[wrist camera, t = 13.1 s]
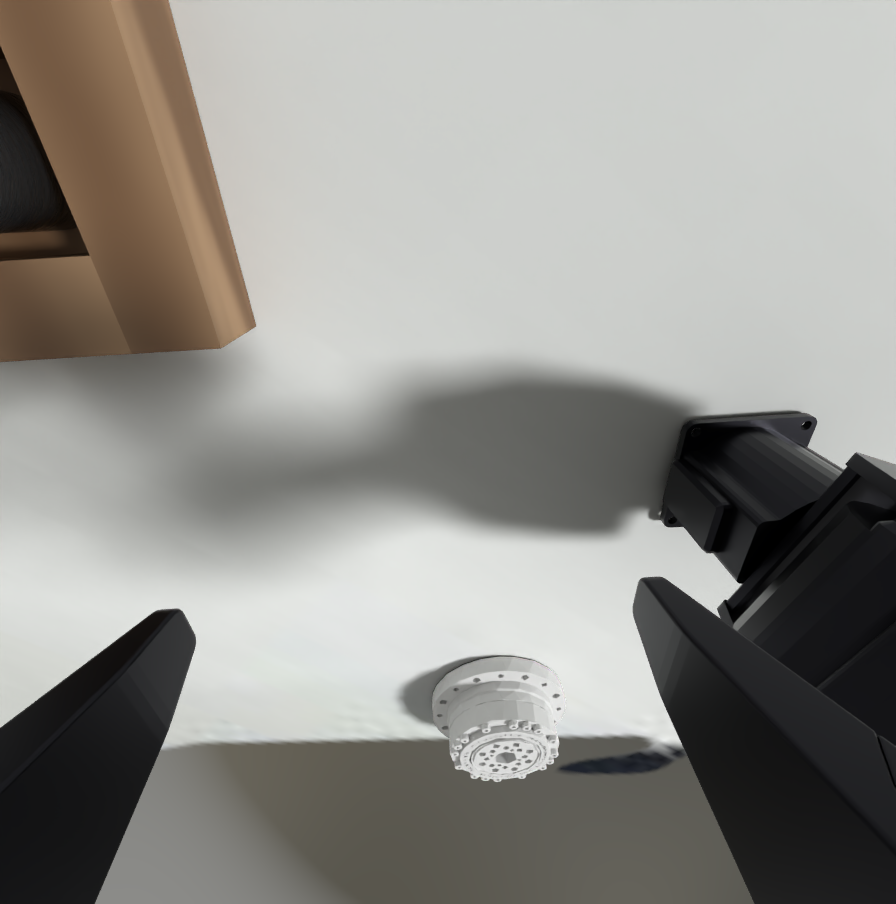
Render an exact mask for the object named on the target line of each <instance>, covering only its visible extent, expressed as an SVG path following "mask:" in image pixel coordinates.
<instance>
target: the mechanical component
mask: <svg viewBox="0 0 896 904" xmlns="http://www.w3.org/2000/svg"><path fill="white" fill-rule="evenodd" d="M565 710H566V698H565V694H564V691H563V687H562V684H561V682H560V680H559V678H558V676H557V675H556V674H555V673H554V672H553V671H552V670H550V669H549V668H548V667H546V666H544V665H542V664H540V663H538V662H536V661H533V660H528V659H522V658H517V657H493V658H485V659H480V660H477V661H474V662H470V663H467V664H464V665H462V666H460V667H458V668H456V669H455V670H453V671H451V672H449V673H448V674H446V676H445V677H444V678H443V679H442V680H441V681H440V682H439V683H438V684H437V685H436V688H435V690H434V692H433V697H432V714H433V722H434V723H435V725H436V727H437V728H438V730H439V731H440V732H441V733H443V734H444V735H445V736H446V737H448V738H449V742H450V754H451V757H452V760H453V761H454V763H455V769H458V770H460V769H463V770H465V771H468V772H470V774H471V778H474V779H476V778H478V777H481V780H483V781H487V780H489V779H494V781H495V782H498V781H501V779H509V778H515V777H519V779H523V778H525V777H526V774H529V773H532V772H534V771H536V770H538V769H540V770H545V769H546V764H553V762H554V759H553V758H556V757H557V756H558V751H557V750H558V745H559V740H558V735H557V731H556V727H555V726H556V725H557V724H558V723H559V722H560V720H561V719H562V717H563V715H564V714H565Z"/></svg>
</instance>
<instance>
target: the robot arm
mask: <svg viewBox="0 0 896 904" xmlns="http://www.w3.org/2000/svg"><path fill="white" fill-rule="evenodd" d="M804 422H805V423H804ZM803 423H804V424H803ZM802 424H803V425H802ZM801 425H802V426H801ZM816 425H817V420H816V418H815V417H813V416H811V415H809V414H807V413H797V414H781V415H765V416H749V417H733V418H717V419H701V420H692V421H689V422H687V423H686V424H685V425H684V426H683V428H682V431H681V435H680V439H679V443H678V447H677V451H676V455H675V459H674V461H673V463H672V465H671V469H670V473H669V477H668V481H667V485H666V489H665V494H664V498H663V502H664V504H663V508H662V512H661V516H660V519H661V521H662V522H663V524H664V525H665V526H666V527H684V528H685V529H686V530H687V531H688V533H689V534H690V535H691V536H692V538H693V539H694V540H695V541H696V543H697V544H698V545H699V546H700V547H701V549H702V550H704V551H705V552H706V553H713V554H714V555H715V556H716V557H717V558H718V560H719V561H720V562H721V563H722V564H723V565H724V567H725V568H726V569H727V570H728V571H729V573H730V574H731V575H732V576H733V577H734V579H735V580H736V581H737V582H738V583H741V584H742V585H741V586H740V587H739V588H738V589H737V590H736V592H735V593H734V594H733V595H732V596H731V597H730V598H729V599H728V600H724V601H723V602H722V604H721V605H720V606H719V607H718V608H717V610H718V613H719V615H720V618H721V619H720V618H719V617H717V616H716V615H715V614H713V613H712V612H710V611H709V610H708V609H706V608H705V607H704V606H702V605H701V604H699V603H698V602H697V601H695V600H694V599H693V598H691V597H690V596H688V595H687V594H686V593H684V592H683V591H682V590H680V589H679V588H677V587H676V586H675V585H673V584H672V583H671V582H669V581H668V580H666V579H665V578H663V577H645V578H641V579H640V580H639V582H638V586H637V590H636V594H635V599H634V603H633V616H634V620H635V623H636V626H637V629H638V631H639V634H640V637H641V640H642V643H643V646H644V649H645V652H646V655H647V658H648V661H649V664H650V667H651V670H652V673H653V676H654V679H655V682H656V685H657V687H658V690H659V693H660V696H661V698H662V700H663V703H664V705H665V708H666V710H667V712H668V714H669V717H670V719H671V721H672V723H673V725H674V728H675V730H676V732H677V734H678V736H679V739H680V741H681V743H682V745H683V747H684V750H685V752H686V754H687V756H688V758H689V761H690V763H691V765H692V767H693V769H694V771H695V774H696V776H697V778H698V780H699V783H700V785H701V787H702V789H703V791H704V794H705V796H706V798H707V800H708V803H709V805H710V807H711V809H712V811H713V813H714V816H715V818H716V820H717V822H718V825H719V826H720V829H721V831H722V833H723V835H724V838H725V840H726V842H727V844H728V846H729V849H730V851H731V853H732V855H733V857H734V860H735V862H736V864H737V866H738V869H739V871H740V873H741V875H742V877H743V880H744V882H745V884H746V886H747V888H748V891H749V893H750V895H751V897H752V900H753V902H754V904H896V465H895V464H892V463H889V462H886V461H883V460H879V459H876V458H873V457H870V456H867V455H864V454H860V453H857V452H856V453H855V454H854V455H853V456H852V457H851V458H850V460H849V461H848V462H847V463H846V465H847V467H846V469H845V470H844V469H842V468H840V467H839V466H837V465H835V464H834V463H832V462H830V461H829V460H827V459H826V458H824V457H822V456H821V455H819V454H817V453H816V452H814V451H813V450H811V449H809V448H808V447H807V446H808V444H809V442H810V439H811V437H812V434H813V432H814V430H815V427H816ZM695 428H697V429H696V431H695V432H694V433H691V432H692V430H693V429H695ZM671 517H673V518H671ZM670 518H671V519H670ZM195 646H196V637H195V634H194V632H193V630H192V628H191V626H190V624H189V622H188V620H187V618H186V616H185V615H184V613H183V611H181V610H180V609H162V610H157V611H155V612H153V613H152V614H150V615H149V616H148V617H147V618H145V619H144V620H143V621H141V622H140V623H139V624H137V625H136V626H135V627H133V628H132V629H131V630H129V631H128V632H127V633H125V634H124V635H123V636H121V637H120V638H119V639H117V640H116V641H115V642H113V643H112V644H111V645H109V646H108V647H107V648H105V649H104V650H103V651H101V652H100V653H99V654H97V655H96V656H95V657H94V658H92V659H91V660H90V661H88V662H87V663H86V664H84V665H83V666H82V667H80V668H79V669H78V670H76V671H75V672H74V673H72V674H71V675H70V676H68V677H67V678H66V679H64V680H63V681H62V682H60V683H59V684H58V685H56V686H55V687H54V688H52V689H51V690H50V691H48V692H47V693H46V694H44V695H43V696H42V697H41V698H39V699H38V700H37V701H35V702H34V703H33V704H31V705H30V706H29V707H27V708H26V709H25V710H23V711H22V712H21V713H19V714H18V715H17V716H15V717H14V718H13V719H11V720H10V721H9V722H7V723H6V724H5V725H3V726H2V727H1V728H0V904H95V902H96V899H97V897H98V895H99V892H100V890H101V888H102V885H103V883H104V881H105V878H106V876H107V874H108V871H109V869H110V866H111V864H112V862H113V860H114V857H115V855H116V852H117V850H118V848H119V845H120V843H121V841H122V838H123V836H124V834H125V831H126V829H127V827H128V824H129V822H130V820H131V817H132V815H133V813H134V810H135V808H136V805H137V803H138V801H139V798H140V796H141V794H142V791H143V789H144V787H145V785H146V782H147V780H148V777H149V775H150V773H151V770H152V768H153V766H154V763H155V761H156V759H157V756H158V754H159V752H160V749H161V747H162V745H163V742H164V740H165V737H166V735H167V732H168V730H169V727H170V724H171V721H172V718H173V715H174V712H175V709H176V706H177V703H178V700H179V697H180V694H181V691H182V687H183V684H184V681H185V678H186V675H187V672H188V669H189V666H190V663H191V659H192V656H193V653H194V650H195Z"/></svg>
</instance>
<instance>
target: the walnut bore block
mask: <svg viewBox="0 0 896 904" xmlns="http://www.w3.org/2000/svg"><path fill="white" fill-rule="evenodd" d="M0 90H4V91H7V92H11V93H14V94H18V95H21V96H22V98H23V100H24V102H25V105H26V107H27V109H28V112H29V114H30V116H31V119H32V121H33V123H34V126H35V128H36V130H37V133H38V135H39V137H40V140H41V142H42V144H43V147H44V149H45V152H46V154H47V156H48V159H49V161H50V163H51V166H52V168H53V170H54V173H55V175H56V177H57V180H58V182H59V184H60V187H61V189H62V191H63V194H64V196H65V198H66V201H67V203H68V206H69V208H70V210H71V213H72V215H73V217H74V220H75V222H76V224H77V227H75V228H73V229H69V230H63V231H44V232H22V233H0V362H7V361H23V360H40V359H56V358H72V357H89V356H105V355H121V354H138V353H154V352H170V351H186V350H203V349H219V348H222V347H224V346H226V345H227V344H229V343H230V342H232V341H234V340H235V339H237V338H238V337H240V336H242V335H243V334H245V333H246V332H248V331H250V330H251V329H253V328H254V327H256V324H255V320H254V316H253V312H252V309H251V305H250V301H249V298H248V294H247V290H246V286H245V283H244V279H243V275H242V272H241V268H240V264H239V261H238V257H237V253H236V249H235V246H234V242H233V238H232V235H231V231H230V227H229V224H228V220H227V216H226V212H225V209H224V205H223V201H222V198H221V194H220V190H219V187H218V183H217V179H216V175H215V172H214V168H213V164H212V161H211V157H210V153H209V150H208V146H207V142H206V138H205V135H204V131H203V127H202V124H201V120H200V116H199V113H198V109H197V105H196V101H195V98H194V94H193V90H192V87H191V83H190V79H189V76H188V72H187V68H186V64H185V61H184V57H183V53H182V50H181V46H180V42H179V39H178V35H177V31H176V27H175V24H174V20H173V16H172V13H171V9H170V5H169V1H168V0H0Z"/></svg>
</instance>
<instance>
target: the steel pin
mask: <svg viewBox="0 0 896 904" xmlns="http://www.w3.org/2000/svg"><path fill="white" fill-rule="evenodd" d="M75 227H77V224H76V222H75V220H74V217H73V215H72V213H71V210H70V208H69V206H68V203H67V201H66V198H65V196H64V194H63V191H62V189H61V187H60V184H59V182H58V180H57V177H56V175H55V173H54V170H53V168H52V166H51V163H50V161H49V159H48V156H47V154H46V152H45V149H44V147H43V144H42V142H41V140H40V137H39V135H38V133H37V130H36V128H35V126H34V123H33V121H32V119H31V116H30V114H29V112H28V109H27V107H26V105H25V102H24V100H23V98H22V96H21V95H18V94H14V93H11V92H7V91H4V90H0V233H22V232H44V231H63V230H69V229H73V228H75Z"/></svg>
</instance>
